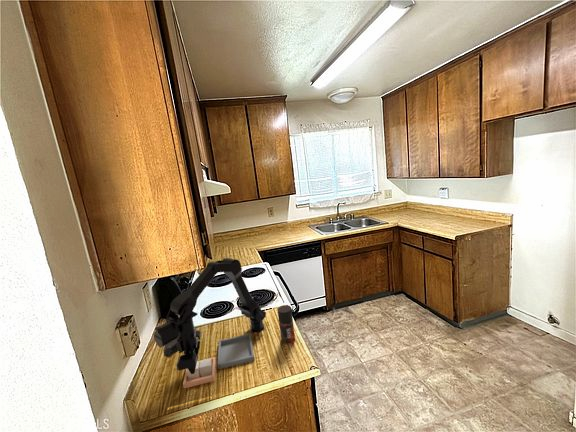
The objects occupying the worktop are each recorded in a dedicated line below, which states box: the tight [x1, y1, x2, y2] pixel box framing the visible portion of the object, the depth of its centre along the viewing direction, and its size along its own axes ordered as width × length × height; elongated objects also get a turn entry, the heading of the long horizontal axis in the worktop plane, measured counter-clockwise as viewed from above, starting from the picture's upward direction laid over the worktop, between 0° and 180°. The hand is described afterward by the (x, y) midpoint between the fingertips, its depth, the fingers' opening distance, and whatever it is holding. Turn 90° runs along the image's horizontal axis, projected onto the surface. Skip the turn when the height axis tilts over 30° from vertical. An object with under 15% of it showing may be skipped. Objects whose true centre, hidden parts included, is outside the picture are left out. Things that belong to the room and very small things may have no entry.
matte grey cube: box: [199, 357, 213, 377], centre depth 103 cm, size 4×4×4 cm
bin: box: [217, 332, 255, 370], centre depth 113 cm, size 16×14×2 cm
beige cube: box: [187, 360, 200, 380], centre depth 102 cm, size 4×4×4 cm
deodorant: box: [277, 304, 296, 345], centre depth 116 cm, size 6×6×15 cm
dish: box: [182, 356, 217, 389], centre depth 103 cm, size 11×11×2 cm
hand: (193, 368), depth 102 cm, fingers open, 5 cm apart
